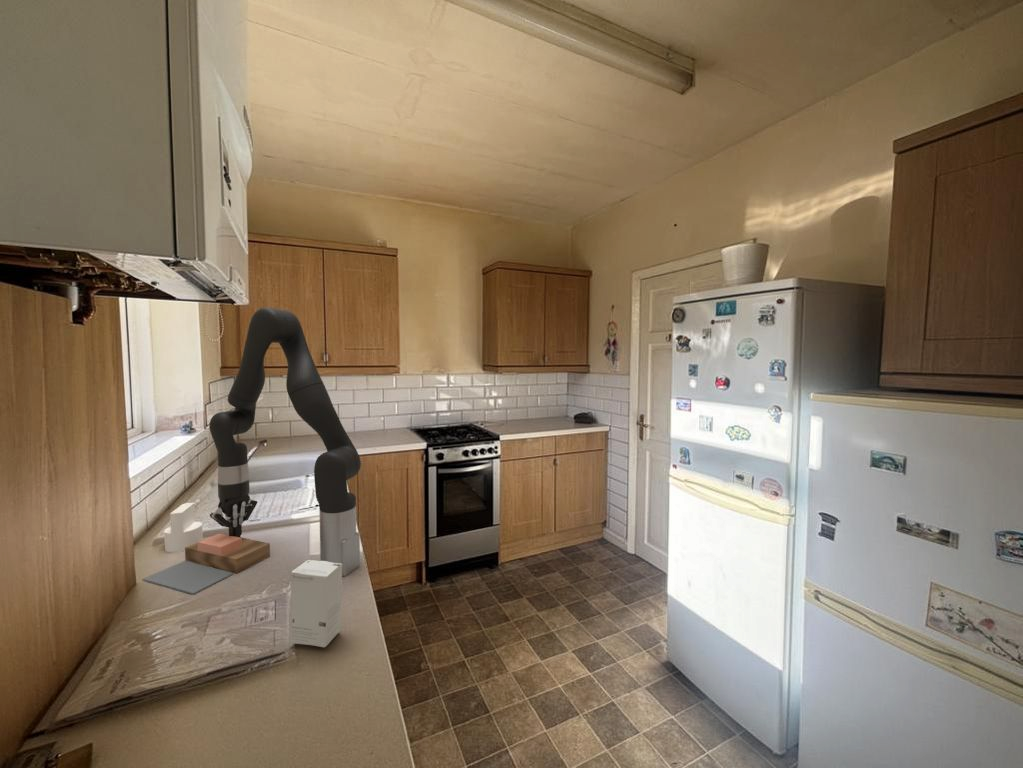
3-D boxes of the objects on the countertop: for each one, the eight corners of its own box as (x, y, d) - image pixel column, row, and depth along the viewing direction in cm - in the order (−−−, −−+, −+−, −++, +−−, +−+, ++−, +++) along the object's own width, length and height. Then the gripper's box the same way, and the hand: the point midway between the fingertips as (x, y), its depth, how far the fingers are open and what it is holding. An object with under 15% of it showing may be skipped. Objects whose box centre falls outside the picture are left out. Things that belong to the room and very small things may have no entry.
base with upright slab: (173, 542, 127) (171, 504, 126) (207, 538, 129) (206, 501, 129) (158, 555, 118) (156, 515, 117) (195, 551, 121) (194, 511, 120)
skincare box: (288, 644, 82) (287, 572, 81) (307, 625, 88) (306, 558, 87) (327, 648, 81) (326, 575, 80) (344, 628, 87) (342, 561, 86)
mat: (233, 574, 108) (233, 573, 108) (193, 594, 99) (193, 593, 98) (184, 562, 114) (184, 560, 114) (142, 580, 105) (142, 578, 105)
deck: (270, 556, 118) (269, 543, 117) (236, 573, 108) (236, 559, 108) (220, 545, 124) (220, 533, 124) (185, 561, 115) (184, 547, 115)
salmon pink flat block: (242, 546, 115) (241, 538, 115) (221, 555, 110) (220, 547, 110) (219, 541, 118) (219, 533, 118) (197, 550, 113) (197, 542, 113)
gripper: (219, 487, 110) (221, 550, 111) (264, 474, 122) (265, 531, 123) (200, 484, 112) (202, 545, 113) (246, 472, 125) (247, 527, 126)
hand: (235, 538), depth 118 cm, fingers closed
